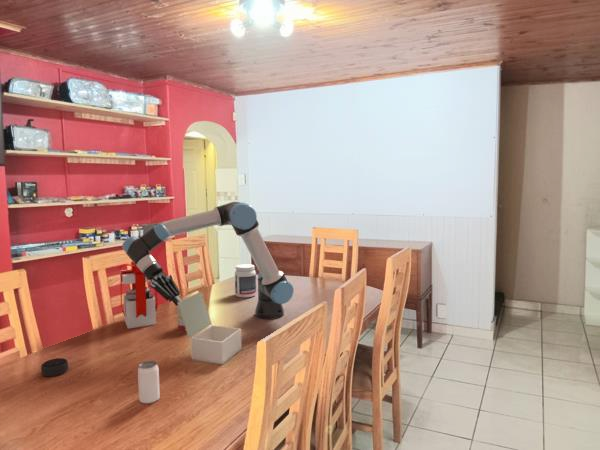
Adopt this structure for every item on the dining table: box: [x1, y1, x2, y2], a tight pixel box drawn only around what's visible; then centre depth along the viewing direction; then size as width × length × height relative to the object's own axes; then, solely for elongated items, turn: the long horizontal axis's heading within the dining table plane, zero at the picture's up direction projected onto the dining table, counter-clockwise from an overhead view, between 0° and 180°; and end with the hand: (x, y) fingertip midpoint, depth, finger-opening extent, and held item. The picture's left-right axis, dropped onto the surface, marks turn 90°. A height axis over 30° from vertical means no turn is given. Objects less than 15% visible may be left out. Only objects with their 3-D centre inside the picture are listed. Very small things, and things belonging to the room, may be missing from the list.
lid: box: [177, 291, 212, 339], centre depth 185 cm, size 15×17×1 cm
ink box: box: [177, 307, 186, 332], centre depth 215 cm, size 9×9×12 cm
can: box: [137, 360, 161, 405], centre depth 147 cm, size 6×6×12 cm
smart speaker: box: [40, 357, 69, 377], centre depth 168 cm, size 9×9×4 cm
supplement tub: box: [234, 263, 257, 299], centre depth 272 cm, size 13×13×18 cm
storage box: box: [190, 324, 242, 365], centre depth 183 cm, size 14×16×9 cm
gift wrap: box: [118, 261, 158, 329], centre depth 222 cm, size 17×17×30 cm
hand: (184, 309), depth 187 cm, fingers closed
